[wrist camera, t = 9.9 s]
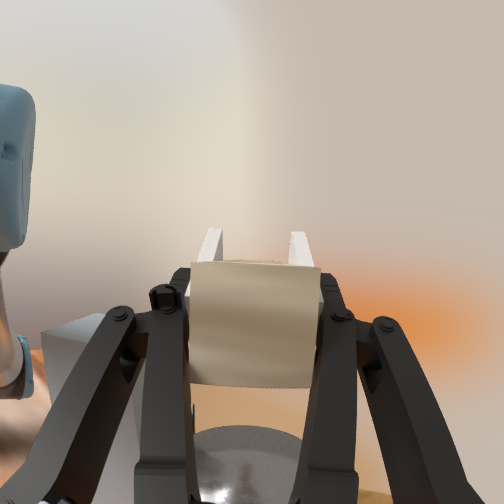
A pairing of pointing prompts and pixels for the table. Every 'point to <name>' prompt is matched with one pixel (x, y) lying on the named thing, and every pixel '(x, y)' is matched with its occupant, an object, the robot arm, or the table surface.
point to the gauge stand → (128, 434)
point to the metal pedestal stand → (246, 464)
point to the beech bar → (253, 323)
